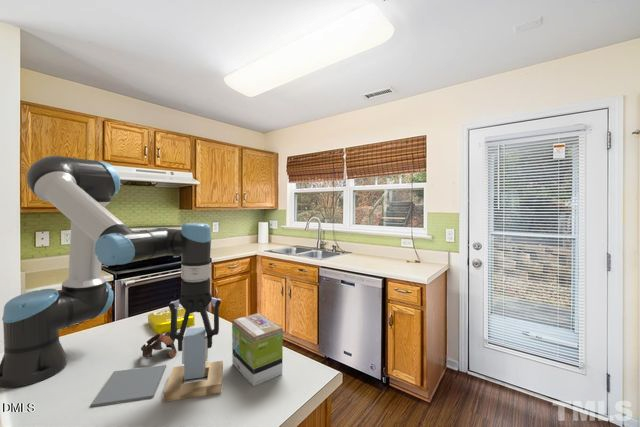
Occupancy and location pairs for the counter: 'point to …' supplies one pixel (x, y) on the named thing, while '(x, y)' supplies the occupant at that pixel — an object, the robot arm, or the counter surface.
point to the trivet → (130, 385)
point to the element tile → (167, 320)
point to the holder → (194, 383)
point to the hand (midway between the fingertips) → (195, 359)
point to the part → (194, 353)
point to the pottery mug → (159, 344)
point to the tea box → (257, 348)
